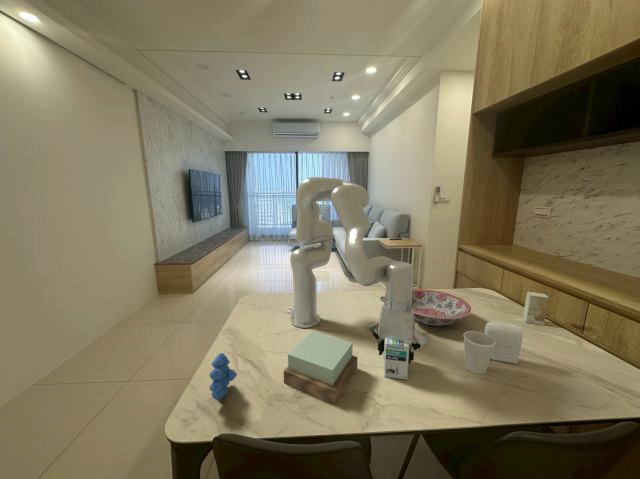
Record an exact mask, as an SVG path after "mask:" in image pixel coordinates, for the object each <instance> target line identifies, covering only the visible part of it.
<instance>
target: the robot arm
mask: <svg viewBox="0 0 640 479" xmlns="http://www.w3.org/2000/svg"><path fill="white" fill-rule="evenodd" d="M296 201H297V202H296V204H297V216H296V226H295V227H296V228H295V229H296V230H295V237H296V241H297V243H298V244H300V245H302V247H299V248H297V249H295V250H293V251H292V253H291V254H290V256H289V257H290V258H289V259H290V260H289V261H290V266H291V271H292V281H293V282H292V283H293V286H292V287H293V306H288V308H287V312H286V313H287V314H290V315H291V317H290V323H291V325H293V326H294V327H297V328H299V329H300V328H301V329H306V328H307V329H308V328H313V327H315V326H318V325H319V324H320V323H321V316H320V315H319V314H318V311H317V310H318V306H317V302H318V301H317V300H318V298H317V294H318V293H317V290H318V289H317V278H316V276H315V274H314V272H313V270H314V269H318V268H321V267H324V266H326V265H328V263H329V262H330V260H331V254H332V248H333V247H332V245H333V238H334V237H333V236H334V232H333V228H332V224H331V223H330V222H329V221H328V220H326V219H323V218H322V219H320V214H321V213H320V211H321V210H320V207H319V205H318V203H317V202H331V203H332V206H333V208H334V210H335V213H336V215H337V216H338V220H339V221H340V223H341V225H342V227H343V231H344V232H345V240H344V256H345V261H346V263H347V265H348V268H349V270H350V273H351V274H352V276H353V278H354V279H355V282H357V283H358V284H359V285H361V286H362V287H371V286H372V285H373V286H374V285H375V284H378V283H380V282H384V281H385V292H384V294H385V296H380V302H383V303H384V304H382V306H381V309H380V313H379V314H380V315H379V321H378V322H375V323H373V324H371V325H370V326H369V330H370V332H371V334H372V336H373V337H374V339H375V340H376V342H377V351H378V355H379V356H382V355H383V354H384V340H385V338H389V339H392V340H396V341H399V342H403V343H406V344H409V360H408V365H411V362H412V361H414V359H415V351H417V350H419V349H420V348H421V347H422V346H423V345H425V344H426V342H427V339H426V337H424V335H422V334H421V333H420V332H419V331H418V330H416V320H415V318H414V311H413V308H411V305H412V290H413V286H414V271H415V270H414V266H413V264H411V263H409V262H406V261H399V260H394V259H392V258H390V257H387V256H384V255H379V256H376V257H371V258H369V259H368V257H367V254H366V253H365V250H364V244H363V241H364V236H365V234H366V233H367V231H368V230H369V229H370V227H371V222H370V220H369V218H368V216H367V215H368V214H366V211H365V208H366V207H367V205H368V204H369V201H370V196H369V192H368V191H367V189H366V188H365V187H363V186H362V185H360V184H357V183H353V182H350V181H347V180H345V179H341V178H337V177H336V178H335V177H322V176H317V177H316V176H314V177H313V176H312V177H307V178H305V179H303V180H302V181H301V182H300V184H298V187H297V190H296ZM377 329H378V331H377ZM415 338H416V339H417V340H418V341H417V342H416V343H415V341H414V339H415Z"/></svg>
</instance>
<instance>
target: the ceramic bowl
mask: <svg viewBox="0 0 640 479" xmlns="http://www.w3.org/2000/svg"><path fill="white" fill-rule="evenodd" d="M411 308H413V311H414V318H415V321H417V322H419V323H421V324H425V325H430V326H437V327H439V326H440V327H441V326H443V327H444V326H449V325H452V324H455V323H457V322H458V321H460V320H462V319H463V318H465V317H467V316H469V315H470V314H471V312H472V307H471V305H470V304H469V302H467V301H466V300H465V299H462V298H461V297H458V296H457V295H454V294H451V293H447V292H443V291H439V290H435V289H433V290H432V289H424V288H421V289H420V288H419V289H417V288H416V289H415V288H414V289H412V305H411Z"/></svg>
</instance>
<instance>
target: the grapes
mask: <svg viewBox="0 0 640 479" xmlns="http://www.w3.org/2000/svg"><path fill="white" fill-rule="evenodd" d="M230 363H231V361H230V360H229V358H228V357H227V356H226V354H225V353H222V352H221V353H218V354H217V356H216V357H215V358H214V359H213V361H212V363H211V366H212V367H213V370H212V371H210V373H209V375H208V376H209V378H210V379H211V380H212V383H211V384H210V385H209V387H208V388H209V390H210V391H211V393H210V394H211V396H212V398H213V399H214V400H215V401H219V400H220V399H222V398H223V397H225V396H226V395H227V393H228V392H229V391H228V389H227V387H228V386H229V384H230V383H231V382H232V381H233V380H235V378H236V377H237V376H238V373H237V372H236V370H234V369H231V368H230V367H229V364H230Z"/></svg>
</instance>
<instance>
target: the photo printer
mask: <svg viewBox="0 0 640 479" xmlns="http://www.w3.org/2000/svg"><path fill="white" fill-rule="evenodd" d="M483 333H484V334H487V335H489V336H490V337H492V338H493V339H494V340H495V345H494V347H493V351H492V354H491V357H490V360H492V361H499V362H505V363H510V364H519V362H520V354H521V348H522V343H523V337H524V333H523V329H522V328H521V327H520V326H518V325H516V324H513V323H509V322H502V321H492V322H491V321H490V322H486V323H485V326H484V332H483Z"/></svg>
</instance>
